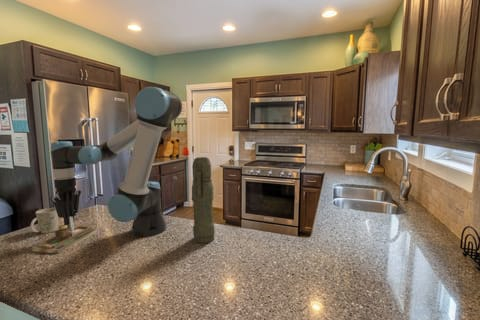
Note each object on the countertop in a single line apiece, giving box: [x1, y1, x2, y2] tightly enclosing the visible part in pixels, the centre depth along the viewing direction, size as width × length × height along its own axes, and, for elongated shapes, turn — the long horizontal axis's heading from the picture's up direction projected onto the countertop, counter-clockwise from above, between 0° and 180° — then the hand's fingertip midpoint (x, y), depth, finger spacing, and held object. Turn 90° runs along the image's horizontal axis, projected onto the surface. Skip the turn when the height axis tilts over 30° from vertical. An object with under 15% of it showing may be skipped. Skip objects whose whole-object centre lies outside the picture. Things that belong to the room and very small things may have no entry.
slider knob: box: [54, 224, 75, 241], centre depth 103 cm, size 7×4×6 cm, turn 80°
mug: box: [29, 207, 59, 234], centre depth 113 cm, size 8×13×10 cm, turn 174°
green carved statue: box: [191, 156, 216, 245], centre depth 102 cm, size 9×12×35 cm
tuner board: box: [31, 225, 98, 254], centre depth 105 cm, size 12×20×2 cm, turn 170°
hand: (70, 231), depth 106 cm, fingers closed
